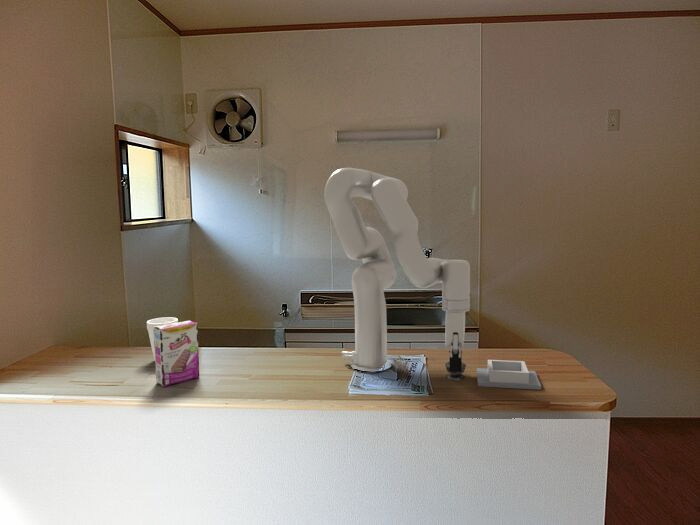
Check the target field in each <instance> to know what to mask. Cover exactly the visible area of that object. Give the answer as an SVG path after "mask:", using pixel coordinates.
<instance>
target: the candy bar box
mask: <svg viewBox="0 0 700 525" xmlns="http://www.w3.org/2000/svg"><path fill="white" fill-rule="evenodd" d="M198 326H199V325H198V322H195V321H192V320H185V321H178V323H172V324H166V325H161V326H155V327H154V347H155V360H154V363H155V379H156V380H155V381H156V384H158V385H159V386H161V387H162V388H164V387H168V386H172V385H176V384H179V382H180V383H184V382H186V380H188V381H191V380H194V379H193V378H195V379H198V378H197V377H199V378H200V359H199V358H200V357H199V356H200V355H199V352H200V351H199V329H198ZM190 379H191V380H190ZM183 381H184V382H183Z"/></svg>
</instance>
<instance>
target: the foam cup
mask: <svg viewBox="0 0 700 525" xmlns="http://www.w3.org/2000/svg"><path fill="white" fill-rule="evenodd" d="M178 322H179V319H178V318H177V317H174V316H173V317H171V316H168V317H157V318H152V319H149V320H147V321H146V330H147V331H148V336H149V342H150V346H151V350H152V351H151V352H152V356H153V360H154V361H155V347H154V327H155V326H161V325H166V324H172V323H178Z"/></svg>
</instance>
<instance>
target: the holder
mask: <svg viewBox="0 0 700 525" xmlns="http://www.w3.org/2000/svg"><path fill="white" fill-rule="evenodd" d="M476 377H477V378H476V380H477V387H487V388H490V387H491V388H502V389H503V388H507V389H525V390H542V384H541V382H540V380H539V377H538V375H537V372H536V371H535V370H528V367H527V365H526V361H523V360H501V359H487V368H484V367H483V368H481V367H478V368H477V367H476Z"/></svg>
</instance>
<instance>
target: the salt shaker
mask: <svg viewBox="0 0 700 525" xmlns="http://www.w3.org/2000/svg"><path fill="white" fill-rule="evenodd" d="M450 346H451V344H450ZM450 346H449V347H450ZM452 346H453V344H452ZM458 346H459V344H458ZM449 349H450V350H449V351H448V353H449V354H450V351H451V348H449ZM452 350H453V349H452ZM458 350H459V349H458ZM461 353H462V354H463V351H461ZM444 366H445V369H446V371H447V373H448V374H446V376H445V378H446V379H447V380H449V381H455V382H457V381H464V380H465V379H466V376H465V375H463V373H465V370H466V368H467V364H466V363H463V362H462V369H461V372H450V360H449V362H448V361H447V362H445V364H444Z"/></svg>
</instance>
